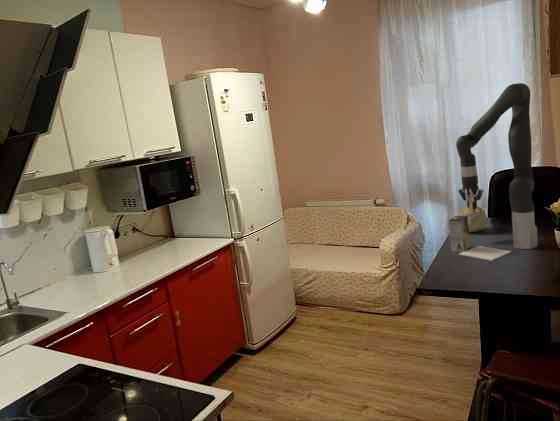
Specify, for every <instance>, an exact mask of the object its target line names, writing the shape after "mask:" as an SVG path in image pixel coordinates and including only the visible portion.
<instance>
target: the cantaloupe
mask: <svg viewBox="0 0 560 421" xmlns="http://www.w3.org/2000/svg"><path fill="white" fill-rule="evenodd" d="M476 210H477V211H480V220H479V221H477V222H474V223H471V224H468V226H469V233H477V232H479V231H482V230H483V229H484V228H486V225H487V222H488V217H487V213H486V212H485V210H484V209H483V208H482V207H480V206H478V205H477V208H476ZM467 213H470V210H469V209H468V207H467V206H466V207H465V206H464V207H463V209H461V210H460V212H459V214H458V216H466V214H467Z"/></svg>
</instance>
